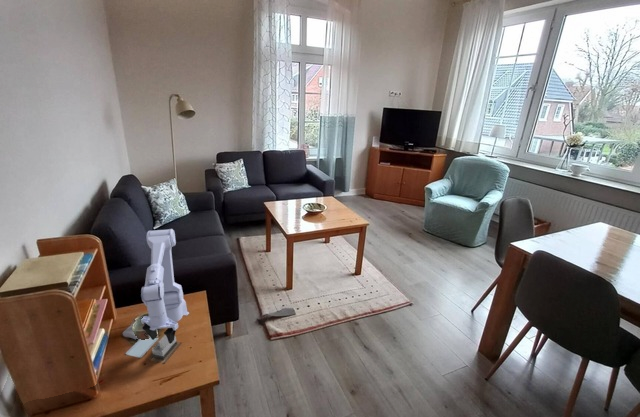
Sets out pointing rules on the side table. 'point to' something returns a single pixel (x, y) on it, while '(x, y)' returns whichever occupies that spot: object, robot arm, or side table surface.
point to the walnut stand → (166, 357)
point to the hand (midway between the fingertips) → (163, 339)
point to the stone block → (130, 333)
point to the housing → (163, 348)
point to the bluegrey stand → (141, 347)
